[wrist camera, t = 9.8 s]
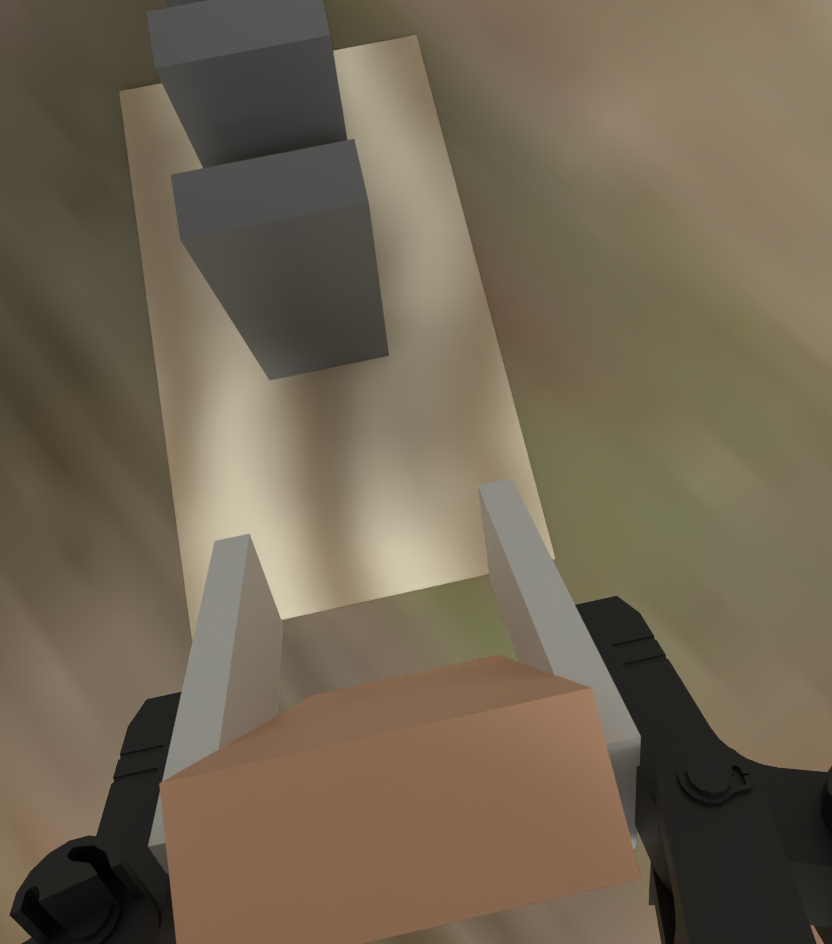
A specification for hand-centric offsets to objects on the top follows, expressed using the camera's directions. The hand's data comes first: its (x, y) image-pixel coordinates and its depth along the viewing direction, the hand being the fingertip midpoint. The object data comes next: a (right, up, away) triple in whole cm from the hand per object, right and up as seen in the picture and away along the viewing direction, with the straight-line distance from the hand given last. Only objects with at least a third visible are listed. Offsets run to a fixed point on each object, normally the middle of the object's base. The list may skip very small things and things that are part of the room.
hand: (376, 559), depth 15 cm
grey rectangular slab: (-4, +12, +14) cm, 19 cm away
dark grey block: (-3, +7, +12) cm, 15 cm away
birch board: (-3, +9, +13) cm, 17 cm away
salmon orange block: (+1, -4, +2) cm, 5 cm away
